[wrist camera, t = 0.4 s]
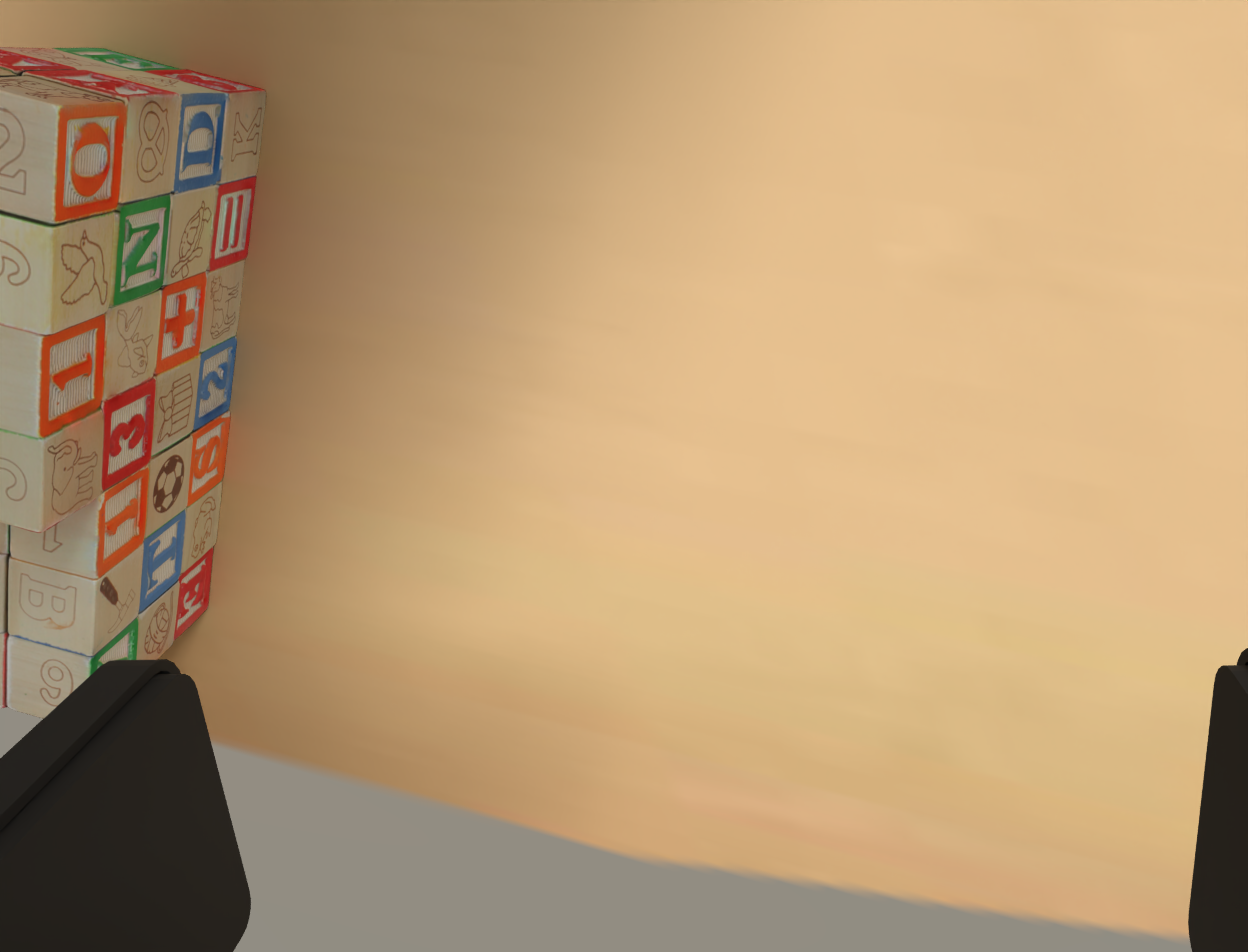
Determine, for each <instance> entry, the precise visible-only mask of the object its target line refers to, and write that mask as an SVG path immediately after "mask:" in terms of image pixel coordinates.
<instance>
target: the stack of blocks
mask: <svg viewBox="0 0 1248 952" xmlns="http://www.w3.org/2000/svg"><path fill="white" fill-rule="evenodd" d="M265 103H266V91H265V90H263V89H260V88H256V87H252V86H249V85H245V84H241V83H237V82H233V81H229V80H226V79H222V78H218V77H214V76H210V75H206V74H202V73H198V72H194V71H191V70H182V69H177V68H174V67H170V66H166V65H162V64H159V63H155V62H151V61H148V60H144V59H140V58H136V57H133V56H129V55H125V54H121V53H117V52H114V51H111V50H107V49H102V48H52V49H45V48H14V47H0V708H5V707H9V708H11V709H13V710H15V711H19V712H22V713H26V714H29V715H33V716H36V717H39V718H43V719H44V718H45V717H46V716H47V715H48V714H49V713H50V712H51V711H52V710H54V709H55V708H56V707H57V706H58V705H59V704H60V703H61V702H62V701H63V700H64V699H65V698H67V697H68V696H69V695H70V694H71V693H72V692H73V691H74V690H75V689H76V688H77V687H78V686H80V685H81V684H82V683H83V682H84V681H85V680H86V679H87V678H88V677H89V676H90V675H91V674H93V673H94V672H95V671H96V670H97V669H98V668H99V667H100V666H101V665H103V664H105V663H106V662H108V661H112V660H157V659H158V658H159V657H160V656H161V655H162V654H163V653H164V652H165V651H166V650H168V649H169V648H170V647H171V646H172V644H173V641H174V640H175V639H176V638H177V637H178V636H180V635H181V634H182V633H183V632H184V631H185V630H186V629H187V628H189V627H190V626H191V625H192V624H193V623H194V622H195V621H196V620H197V619H198V618H199V617H200V616H201V614H202V613H203V612H204V611H205V610H206V609H207V608H208V603H209V591H210V579H211V568H212V556H213V546H214V545H215V544H216V541H217V532H218V523H219V513H220V504H221V495H222V478H223V476H224V469H225V461H226V452H227V444H228V435H229V425H230V418H231V413H230V411H229V406H230V400H231V390H232V380H233V372H234V362H235V353H236V345H237V338H236V333H237V329H238V322H239V312H240V303H241V293H242V284H243V274H244V263H245V258H246V257H247V254H248V246H249V238H250V229H251V219H252V211H253V202H254V194H255V184H256V174H257V170H258V164H259V155H260V147H261V138H262V130H263V121H264V112H265Z"/></svg>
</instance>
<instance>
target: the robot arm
mask: <svg viewBox="0 0 1248 952" xmlns="http://www.w3.org/2000/svg"><path fill="white" fill-rule="evenodd" d="M250 909H251V898H250V891H249V887H248V883H247V880H246V876H245V872H244V868H243V864H242V860H241V857H240V852H239V849H238V845H237V841H236V837H235V833H234V830H233V826H232V822H231V818H230V814H229V811H228V806H227V802H226V799H225V795H224V791H223V787H222V783H221V779H220V776H219V772H218V768H217V764H216V760H215V756H214V752H213V749H212V745H211V741H210V737H209V733H208V729H207V725H206V722H205V718H204V714H203V710H202V706H201V702H200V698H199V695H198V691H197V688H196V685H195V683H194V681H193V680H192V678H191V677H190V676H188V675H186V674H181V673H180V670H179V669H178V668H177V666H176V665H175V664H174V663H173V662H171V661H169V660H167V659H164V660H112V661H108V662H106V663H105V664H103V665H101V666H100V667H99V668H98V669H97V670H96V671H95V672H94V673H93V674H91V675H90V676H89V677H88V678H87V679H86V680H85V681H84V682H83V683H82V684H81V685H80V686H78V687H77V688H76V689H75V690H74V691H73V692H72V693H71V694H70V695H69V696H68V697H67V698H65V699H64V700H63V701H62V702H61V703H60V704H59V705H58V706H57V707H56V708H55V709H54V710H52V711H51V712H50V713H49V714H48V715H47V716H46V717H45V718H44V719H43V720H42V721H41V722H40V723H38V724H37V725H36V726H35V727H34V728H33V729H32V730H31V731H30V732H29V733H28V734H27V735H25V736H24V737H23V738H22V739H21V740H20V741H19V742H18V743H17V744H16V745H15V746H13V748H11V749H10V750H9V751H8V752H7V753H6V754H5V755H4V756H3V757H2V758H0V952H233V951H234V949H235V947H236V946H237V944H238V943H239V941H240V939H241V937H242V936H243V934H244V932H245V929H246V927H247V924H248V920H249V915H250ZM1188 925H1189V937H1190V943H1191V948H1192V952H1248V648H1247V649H1245V650H1244V651H1243V652H1242V653H1241V655H1240V657H1239V659H1238V662H1237V665H1231V666H1221V667H1220V668H1219V669H1218V671H1217V673H1216V677H1215V682H1214V689H1213V698H1212V708H1211V717H1210V726H1209V735H1208V744H1207V753H1206V762H1205V771H1204V780H1203V789H1202V798H1201V807H1200V816H1199V825H1198V834H1197V844H1196V853H1195V862H1194V871H1193V880H1192V889H1191V898H1190V907H1189V920H1188Z"/></svg>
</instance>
